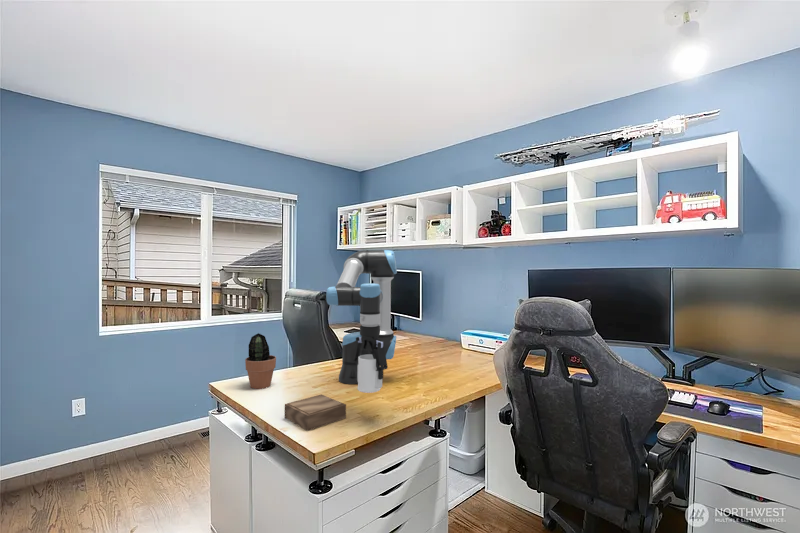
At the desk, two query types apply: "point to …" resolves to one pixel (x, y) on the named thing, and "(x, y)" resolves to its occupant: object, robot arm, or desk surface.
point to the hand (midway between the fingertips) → (369, 384)
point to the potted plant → (259, 363)
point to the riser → (315, 411)
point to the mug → (367, 374)
